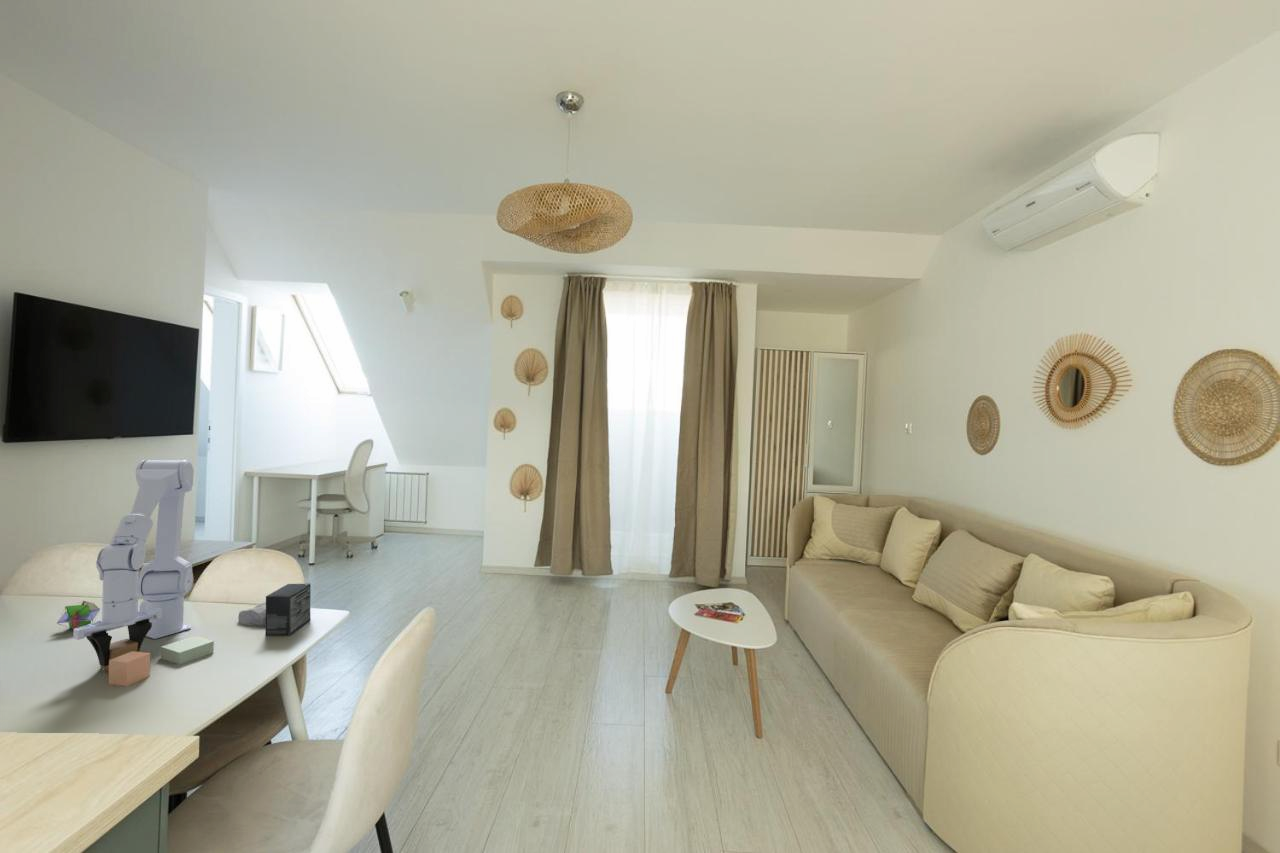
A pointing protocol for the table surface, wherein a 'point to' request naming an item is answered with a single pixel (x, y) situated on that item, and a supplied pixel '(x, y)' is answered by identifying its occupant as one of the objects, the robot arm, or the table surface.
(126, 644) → the walnut block
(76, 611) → the geometric puzzle
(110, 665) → the terracotta block
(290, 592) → the small box
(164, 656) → the base block
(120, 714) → the table surface
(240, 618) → the stone block
